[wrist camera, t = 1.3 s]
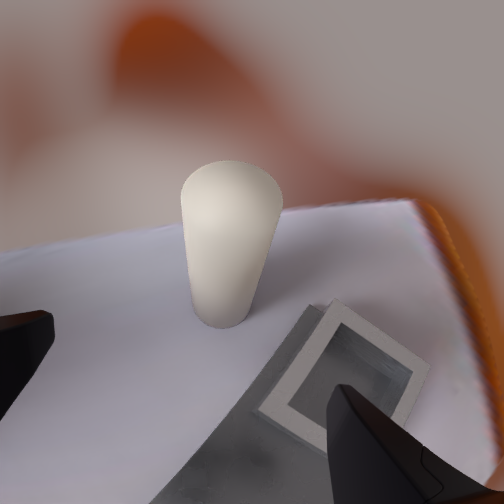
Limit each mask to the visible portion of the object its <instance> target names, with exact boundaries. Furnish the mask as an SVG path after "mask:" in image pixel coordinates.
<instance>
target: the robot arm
mask: <svg viewBox="0 0 504 504" xmlns="http://www.w3.org/2000/svg"><path fill="white" fill-rule="evenodd" d="M54 339H55V331H54V318H53V315H52V314H51V313H49V312H47V311H44V310H38V311H32V312H25V313H19V314H13V315H7V316H0V421H1V419H2V418H3V416H4V415H5V414H6V412H7V411H8V409H9V408H10V406H11V405H12V404H13V402H14V401H15V399H16V398H17V397H18V395H19V394H20V393H21V391H22V390H23V388H24V387H25V386H26V384H27V383H28V382H29V380H30V379H31V378H32V376H33V375H34V373H35V372H36V370H37V368H38V367H39V365H40V363H41V362H42V360H43V358H44V357H45V355H46V354H47V352H48V350H49V349H50V347H51V346H52V344H53V342H54ZM326 427H327V455H328V463H329V470H330V477H331V485H332V493H333V501H334V504H504V491H495V490H491V489H488V488H486V487H485V486H483V485H481V484H479V483H478V482H476V481H475V480H473V479H471V478H470V477H468V476H466V475H465V474H463V473H462V472H460V471H458V470H457V469H455V468H454V467H452V466H451V465H449V464H448V463H446V462H445V461H443V460H442V459H441V458H439V457H438V456H437V455H435V454H434V453H433V452H431V451H430V450H429V449H428V448H427V447H425V446H423V444H421V443H420V442H419V441H418V440H416V439H415V438H414V437H413V436H411V435H410V434H409V433H408V432H406V431H405V430H404V429H403V428H402V427H400V426H399V425H398V424H397V423H395V422H394V421H393V420H392V419H391V418H389V417H388V416H387V415H386V414H384V413H383V412H382V411H381V410H380V409H378V408H377V407H376V406H375V405H374V404H372V403H371V402H370V401H369V400H368V399H366V398H365V397H364V396H363V395H362V394H360V393H359V392H358V391H357V390H356V389H355V388H353V387H352V386H351V385H348V384H337V385H336V386H335V388H334V390H333V393H332V395H331V397H330V399H329V401H328V404H327V408H326Z"/></svg>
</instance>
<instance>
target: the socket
mask: <svg viewBox="0 0 504 504" xmlns="http://www.w3.org/2000/svg"><path fill="white" fill-rule="evenodd" d="M430 367H431V365H430V364H428V363H427V362H426V361H424V360H423V359H421V358H420V357H418V356H417V355H416V354H414V353H413V352H411V351H410V350H408V349H407V348H406V347H404V346H403V345H401V344H400V343H399V342H397V341H396V340H394V339H393V338H391V337H390V336H389V335H387V334H386V333H384V332H383V331H381V330H380V329H379V328H377V327H376V326H374V325H373V324H371V323H370V322H369V321H367V320H366V319H364V318H363V317H361V316H360V315H358V314H357V313H356V312H354V311H353V310H351V309H350V308H348V307H347V306H346V305H344V304H343V303H341V302H340V301H338V300H337V299H334V300H333V301H332V302H331V303H330V304H329V305H328V306H327V308H326V309H325V310H324V311H323V312H320V311H319V310H317V309H316V308H314V307H313V306H312V305H309V306H308V307H307V308H306V310H305V311H304V313H303V314H302V316H301V317H300V318H299V320H298V321H297V323H296V324H295V326H294V327H293V328H292V330H291V331H290V333H289V334H288V335H287V337H286V338H285V340H284V341H283V342H282V344H281V345H280V347H279V348H278V349H277V351H276V352H275V353H274V355H273V356H272V357H271V359H270V360H269V361H268V363H267V364H266V366H265V367H264V368H263V370H262V371H261V372H260V373H259V375H258V376H257V377H256V379H255V380H254V381H253V383H252V384H251V385H250V387H249V388H248V389H247V390H246V392H245V393H244V394H243V396H242V397H241V398H240V399H239V401H238V402H237V403H236V404H235V406H234V407H233V408H232V409H231V411H230V412H229V413H228V414H227V416H226V417H225V418H224V419H223V421H222V422H221V423H220V424H219V425H218V427H217V428H216V429H215V430H214V431H213V433H212V434H211V435H210V436H209V437H208V439H207V440H206V441H205V442H204V443H203V444H202V446H201V447H200V448H199V449H198V450H197V451H196V453H195V454H194V455H193V456H192V457H191V458H190V460H189V461H188V462H187V463H186V464H185V465H184V466H183V467H182V469H181V470H180V471H179V472H178V473H177V474H176V475H175V476H174V477H173V479H172V480H171V481H170V482H169V483H168V484H167V485H166V486H165V487H164V488H163V489H162V490H161V492H160V493H159V494H158V495H157V496H156V497H155V498H154V499H153V500H152V501H151V502H150V503H149V504H334V501H333V493H332V485H331V477H330V470H329V463H328V455H327V427H326V408H327V404H328V401H329V399H330V397H331V395H332V393H333V390H334V388H335V386H336V385H337V384H348V385H351V386H352V387H353V388H355V389H356V390H357V391H358V392H359V393H360V394H362V395H363V396H364V397H365V398H366V399H368V400H369V401H370V402H371V403H372V404H374V405H375V406H376V407H377V408H378V409H380V410H381V411H382V412H383V413H384V414H386V415H387V416H388V417H389V418H391V419H392V420H393V421H394V422H395V423H397V424H398V425H399V426H400V427H402V428H403V426H404V424H405V422H406V420H407V418H408V416H409V414H410V412H411V410H412V408H413V406H414V404H415V402H416V399H417V397H418V395H419V393H420V391H421V388H422V386H423V384H424V381H425V379H426V377H427V374H428V372H429V369H430Z"/></svg>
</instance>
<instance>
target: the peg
mask: <svg viewBox="0 0 504 504" xmlns="http://www.w3.org/2000/svg"><path fill="white" fill-rule="evenodd" d="M181 206H182V218H183V228H184V238H185V247H186V256H187V264H188V273H189V281H190V288H191V296H192V303H193V308H194V311H195V313H196V315H197V316H198V318H199V319H200V320H201V321H202V322H204V323H205V324H207V325H209V326H211V327H214V328H220V329H225V328H230V327H233V326H236V325H237V324H239V323H240V322H242V321H243V320H244V319H245V317H246V316H247V314H248V312H249V310H250V307H251V304H252V301H253V298H254V295H255V292H256V288H257V285H258V282H259V279H260V276H261V273H262V270H263V267H264V264H265V261H266V258H267V255H268V252H269V248H270V245H271V242H272V239H273V236H274V233H275V230H276V227H277V223H278V220H279V217H280V214H281V211H282V207H283V197H282V193H281V190H280V188H279V186H278V184H277V183H276V181H275V180H274V179H273V178H272V177H271V176H270V175H269V174H268V173H267V172H265V171H264V170H262V169H261V168H259V167H257V166H254V165H252V164H249V163H246V162H241V161H231V160H227V161H218V162H213V163H210V164H207V165H205V166H202V167H201V168H199V169H197V170H196V171H195V172H193V173H192V174H191V175H190V176H189V178H188V179H187V180H186V182H185V183H184V185H183V188H182V191H181Z"/></svg>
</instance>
